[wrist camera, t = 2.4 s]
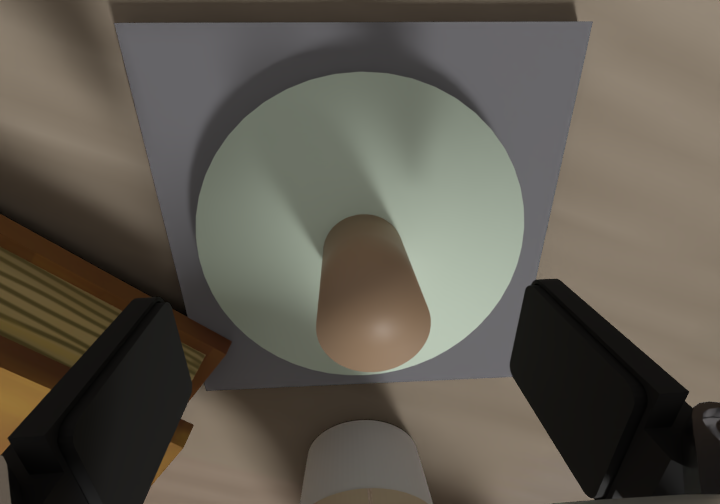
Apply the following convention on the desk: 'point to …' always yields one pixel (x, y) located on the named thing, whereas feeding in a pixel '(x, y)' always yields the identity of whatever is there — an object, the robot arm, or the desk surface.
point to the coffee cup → (364, 466)
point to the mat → (333, 56)
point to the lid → (359, 223)
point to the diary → (69, 325)
